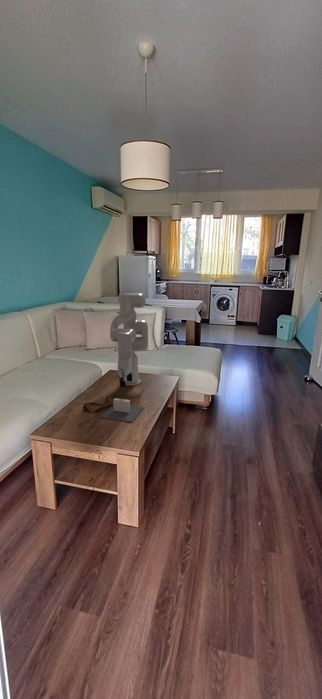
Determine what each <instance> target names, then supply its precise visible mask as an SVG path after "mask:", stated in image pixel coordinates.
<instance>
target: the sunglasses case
mask: <svg viewBox="0 0 322 699" xmlns="http://www.w3.org/2000/svg"><path fill="white" fill-rule="evenodd" d="M113 400H114V399H112V398H111V397H110V395H108V396H105V397H101V398H98V399H96V400H93V401H91V402H86V403H84V404H83V405H82V406H83V407H82V409H83V411H85V412H87V413H89V414H91V415H92V414H95V413H97V412H100V411H101V410H105V409H107V408H110V407H112V406H113V405H114V404H113Z"/></svg>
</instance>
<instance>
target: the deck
mask: <svg viewBox="0 0 322 699" xmlns="http://www.w3.org/2000/svg"><path fill="white" fill-rule="evenodd" d="M112 400H113V404H114V411H120V412H127V413H129V412H130V411H131V409H130V405H131V399H125V398H116V397H115V398H113V399H112Z"/></svg>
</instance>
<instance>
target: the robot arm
mask: <svg viewBox="0 0 322 699" xmlns="http://www.w3.org/2000/svg"><path fill="white" fill-rule="evenodd" d="M117 299H118V300H117V302H118V303H119V304H118V305H119V314H117V315H116V316H115V318H113V320H112V322H111V323H110V331H109V338H110V341H111V342H114V343H117V377H118V379H119V388H126V386H130V387H131V386H137V385H140V383H141V382H142V380H141V378H139V376H140V373H139V357H138V355H137V353H136V352H146V351H148V349H149V324H148V322H147V321H146V320H144V319H137V312H136V310H135V309H137V308H138V309H139V308H140V309H141V308H144V307H145V305H146V300H147V298H146V295H145V293H144V292H122V293H119V294H118V296H117ZM122 324H123V325H122ZM120 325H122V327H123V328H118V327H119V326H120ZM139 335H140V336H139Z"/></svg>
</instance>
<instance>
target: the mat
mask: <svg viewBox="0 0 322 699" xmlns="http://www.w3.org/2000/svg"><path fill="white" fill-rule="evenodd" d="M130 409H131V411H130V412H129V413H127V412H120V411H114V405H113V406H110V407H108V409H107V410H106V411H105V412H103V414H102V415H101V416H100V419H105V420H112V421H119V422H126V423H131V424H133V422H134V421H135V420H136V418H138V417H139V415H140V414H141V413H142V412H143V410H144V409H145V406H141V405H133V404H130Z"/></svg>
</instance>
